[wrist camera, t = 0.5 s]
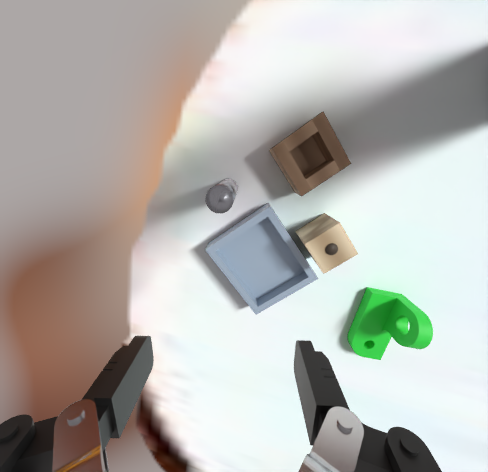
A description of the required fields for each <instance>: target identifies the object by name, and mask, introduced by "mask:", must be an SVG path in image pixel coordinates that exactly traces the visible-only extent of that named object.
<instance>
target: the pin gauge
mask: <svg viewBox="0 0 488 472" xmlns="http://www.w3.org/2000/svg"><path fill="white" fill-rule="evenodd" d="M237 191H238V185H237V183H236V182H235V181H234V180H232V179H225V180H223V181H222V182H220V183H219V184H217V185H215V186H214V187H212V188H211V189H210V190H209V191H208V192H207V194H206V204H207V206H208V208H209V209H210V210H211V211H213V212H215V213H225V212H227V211H228V210H229V209H230V208H231V207H232V204H233V202H234V199H235V196H236V193H237Z"/></svg>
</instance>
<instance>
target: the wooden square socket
mask: <svg viewBox="0 0 488 472" xmlns="http://www.w3.org/2000/svg"><path fill="white" fill-rule="evenodd" d="M269 151H270V153H271V154H272V156H273V158H274V159H275V161H276V162H277V164H278V166H279V167H280V169H281V170H282V172H283V174H284V175H285V177H286V179H287V180H288V182H289V183H290V185H291V187H292V188H293V190H294V191H295V193H297V194H298V195H300V196H303V195H304V194H306V193H307V192H309V191H310V190H312V189H313V188H315V187H316V186H318V185H320V184H321V183H323V182H324V181H326V180H327V179H329V178H330V177H332V176H333V175H335V174H336V173H338V172H339V171H341V170H342V169H344V168H345V167H347V166H348V165H350V164H351V162H350V161H349V159H348V157H347V155H346V153H345V151H344V149H343V147H342V146H341V144H340V142H339V140H338V138H337V136H336V134H335V132H334V131H333V129H332V127H331V125H330V123H329V121H328V119H327V117H326V116H325V114H324V112H322V113H320V114H319V115H317V116H316V117H314V118H313V119H312V120H310V121H309V122H308V123H306V124H305V125H303V126H302V127H301V128H299V129H298V130H296V131H295V132H294V133H292V134H291V135H289V136H288V137H287V138H285V139H284V140H283V141H281V142H280V143H278V144H277V145H276V146H274V147H273V148H271V149H270V150H269Z"/></svg>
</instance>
